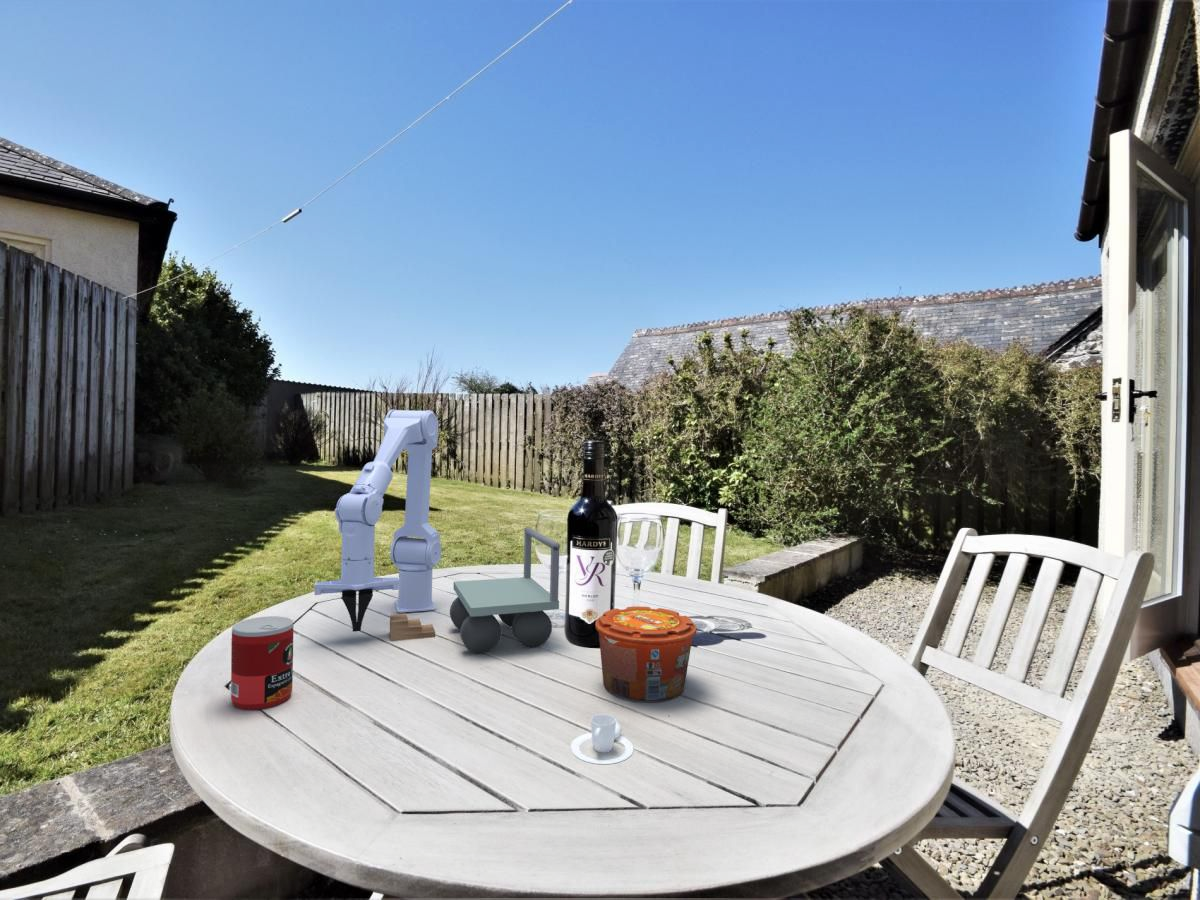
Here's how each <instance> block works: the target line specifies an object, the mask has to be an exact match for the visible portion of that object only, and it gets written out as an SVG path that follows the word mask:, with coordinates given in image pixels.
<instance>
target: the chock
mask: <svg viewBox="0 0 1200 900" xmlns="http://www.w3.org/2000/svg"><path fill="white" fill-rule="evenodd" d="M389 617H390V619H389V634H390V641H391V642H395V641H397V642H398V641H406V640H418V639H428V638H435V637H436V630H435V628H434V625H433V624H432V623H431V624H430V623H429V624H422V622H421V620H420V618H414V619H413V618H411V619H408V613H407V612H404V613H393V614H391V613H390V615H389Z"/></svg>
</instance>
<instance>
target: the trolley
mask: <svg viewBox="0 0 1200 900" xmlns="http://www.w3.org/2000/svg"><path fill="white" fill-rule="evenodd" d="M523 532H524V541H523V542H524V545H523V546H524V549H523V554H524V555H523V577H508V578H507V577H506V578H493V579H492V578H491V579H490V578H489V579H475V580H460V581H459V580H458V581H453V591H454V592H455V594H456V595H457V597H456V598H455V599H454V600H453V601H452V604H451V605H450V608H449V618H450V619H451V621H452V623H453V625H454V626H455V628H456V629H458V630H459V633H460V634H459V635H460V640H461V641H462V643H463V645H464V647H465V649H467V650H468V651H469V652H471V653H473V654H477V655H478V654H487V653H489V652H491V651H492V650H493V649H495V647H497V645H498V644H499V643H500V641H501V638H502V626H501V624H500V621H499V620H498V619H497V618H496V616H495V615H497V616H498V617H499V619H500V620H501V621H502V622H503V624H505V625H506V626H507V627H511V630H512V635H513V637H514V638H515V639H516V640H517V642H518V643H519V645H521V646H522V647H524V648H527V649H537V648H539V647H541V646H542V645H543V646H544V644H546V642H547V641H548V640H549V638H550V637H551V635H552V631H553V624H552V621H551V618H550V617H549V615H548V614H547V613H546V612H545V611H554V610H559V609H560V601H559V581H560V580H559V579H560V578H559V577H560V576H559V575H560V572H559V571H560V570H559V569H560V548H561V546H560V544H559V542H557V541H555V540H553V539H551V538H549V537H548V536H545V535H543V534H542V533H541V532H538V531H537V530H534V529H533V528H531V527H529V526H526V527H525V528H524V531H523ZM532 538H533V539H534V540H536V541H538V542H540V543H542V545H543V544H544V545H545V546H547V547H548V548H550V578H549V579H550V580H549V581H550V582H549V591H547V590H546V589H545V588H544V587H543V586H542V585H540V584H539V583H538V582H537V581H536V580H534V578H532V577H531V575H532V573H531V571H532V543H533V542H532V541H533V540H532Z"/></svg>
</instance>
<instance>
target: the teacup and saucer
mask: <svg viewBox="0 0 1200 900" xmlns="http://www.w3.org/2000/svg"><path fill="white" fill-rule="evenodd" d="M590 725H591V726H590V727H591V732H587V733H584V734H581V735H579V736H577V737H575V739H574V740H572V742H571V744H570V751H571V753H572V754H573V756H574V757H576V758H577V759H579V760H581V761H583V762H586V763H589V764H595V765H614V764H615V765H616V764H618V763H619V764H620V763H621V762H624V761H626V760H627V759H629V758H631V756H632V755H633V754H634V749H635V748H634V745H633V743H632V742H631V741H630V740H629V739H628V738H626V737H625V736H624V735H621V732H622V726H621V724H620V723H619V722H618V721H617V719H616V717H614V716H613V715H611V714H607V713H599V714H595V715H593V716H592V717H591V720H590ZM589 739H591V742H592V745H593V746H592V747H593V748H594V750H595V751H596V752H599V753H608V752H610V751H611V750H612V749H613V746H614V741H618V742H620V744H622V745H623V746H624V751H623V754H621V755H619V756H618V757H615V758H611V759H596V758H592V757H588V756H586V755H585V754H584V753H582V751H581V750H580V747H581V745H582V743H583V742H585V741H587V740H589Z"/></svg>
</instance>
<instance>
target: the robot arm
mask: <svg viewBox="0 0 1200 900" xmlns="http://www.w3.org/2000/svg"><path fill="white" fill-rule="evenodd" d="M383 430H384V436H383V438H382V441H381V443H380V446H379V448H378V449H377V452H376V455H375V457H374V459H373V461H369V462H367V463H366V464H364V466H363V467H362V469H361V471H360V473H359V476H357V478H356V481H355V482H354V484H353V486H352V488H351V490H350V491H349V492H348V493H346V494H344V495H342V496H340V497H339V499H338V501H337V503H336V507H335V509H334V516H335V519H336V521H337V524H338V531H339V533H340V534H341V558H340V559H341V565H340V567H341V568H340V569H341V572H340V576H341V577H340V579H335V580H334V579H333V580H328V581H327V580H326V581H318V582H315V583H314V596H321V595H323V594H325V595H326V594H339V593H341V599H342V602H343V604H344V606H345V607H346V608H345V609H346V610H347V612H348V615H349V617H350V618H349V619H350V621H351V626H352V627H351V628H352V632H361V630H362V624H363V620H364V617H365V614H366V611H367V609H368V607H369V605H370V602H371V601H372V598H373V595H374V593H373V592H374V591H383V590H392V591H398V593H397V594H398V598H397V599H395V600H394V604H395V608H396V612H397V614H404V613H413V612H424V611H425V612H427V611H435V610H436V607H435V604H434V601H433V569H434V568H435V567H437V565H439V562H440V561H441V557H442V545H441V534H440V532H439V530H436V529H435V528H434V527H433V526H432V525H430V523H429V519H430V517H429V516H430V515H429V514H430V500H431V499H430V497H431V481H432V480H431V479H432V478H431V477H432V476H431V475H432V461H433V460H432V459H433V450H434V449H437V448H438V440H439V439H438V438H439V420H438V418H437V416H436V414H435V413H434V412H433V411H432V410H431V409H426V410H406V409H405V410H401V409H390V410H389V411H388V412H387V414H386V416H385V418H384V420H383ZM404 450H405V451H406V453H407V454H408V455H407V476H406V492H405V493H406V495H405V509H404V510H405V511H404V512H405V513H404V524H403V525H401V526H400V527H399V528H398V529H396V530H395V531H394V532H393V539H392V543H391V546H390V553H389V555H390V559H391V561H392V563H393V564H394V565H395V568H396V569H398V577H375V537H376V535H375V533H376V532H375V529H376V526H375V525H376V524H377V523H378V522H379V520H380V518H381V517H382V513H383V505H384V498H383V497H384V495H385V493H386V492H387V489H388V488H389V485H390V484H391V481H392V479H393V477H394V475H393V472H392V470H391V469H392V467H393V466H394V464H395V463H396V461H397V460H398V458H399V457H400V455H401V453H402V452H403V451H404ZM357 593H358V599H357ZM357 600H358V602H357ZM357 604H358V606H357ZM357 607H358V608H357Z"/></svg>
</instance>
